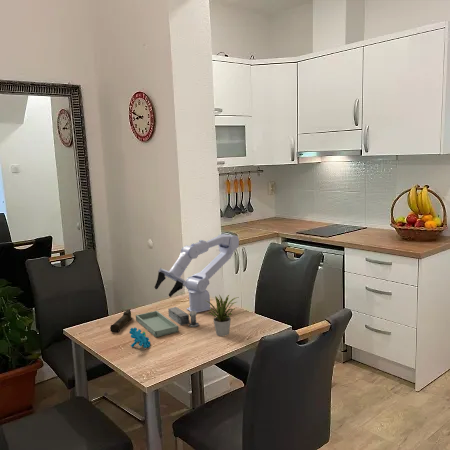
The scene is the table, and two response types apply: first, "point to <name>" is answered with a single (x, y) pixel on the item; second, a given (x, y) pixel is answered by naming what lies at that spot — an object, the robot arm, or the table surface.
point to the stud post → (193, 319)
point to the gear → (139, 338)
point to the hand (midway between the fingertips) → (162, 292)
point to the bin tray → (156, 323)
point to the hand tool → (121, 322)
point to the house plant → (222, 316)
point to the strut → (178, 316)
